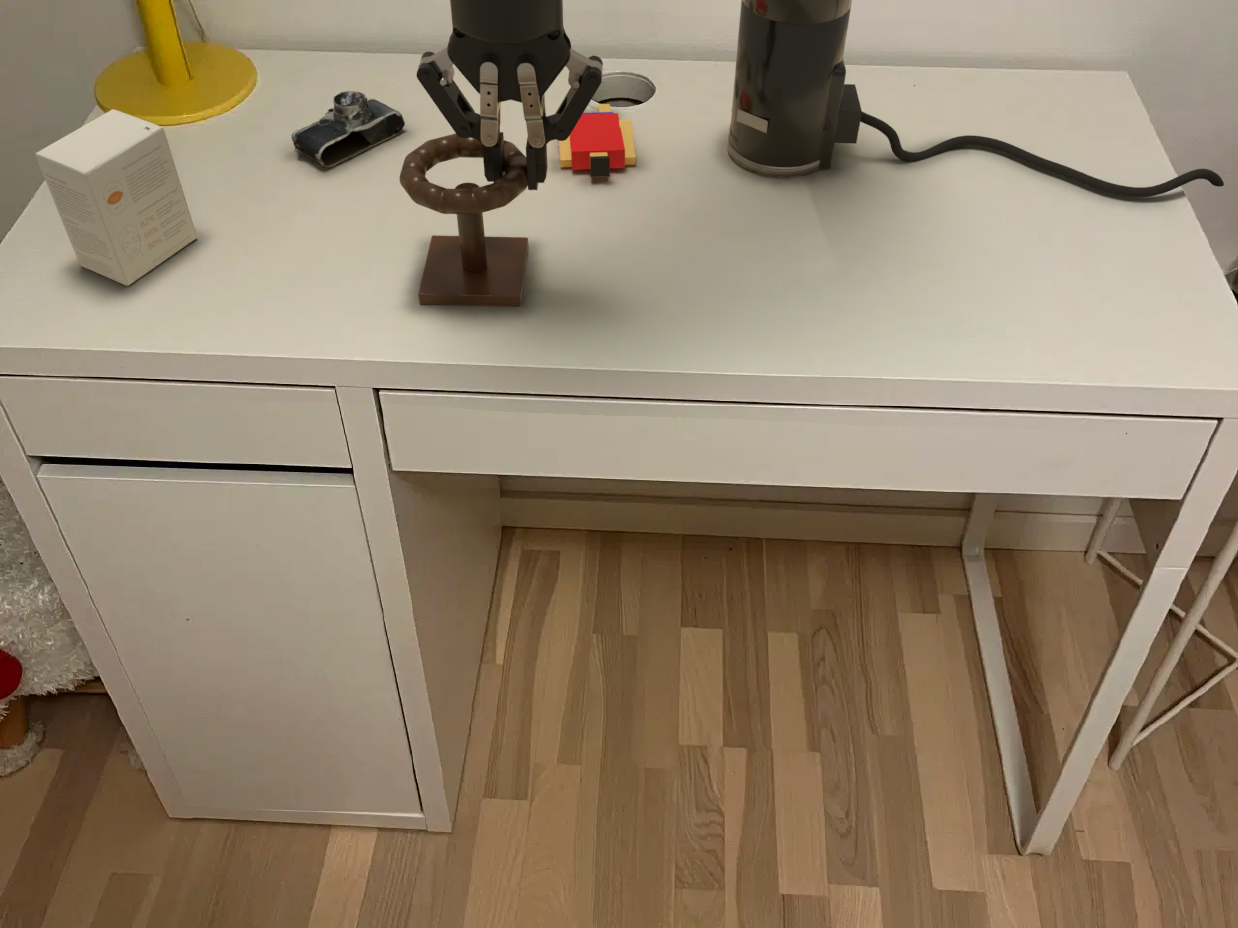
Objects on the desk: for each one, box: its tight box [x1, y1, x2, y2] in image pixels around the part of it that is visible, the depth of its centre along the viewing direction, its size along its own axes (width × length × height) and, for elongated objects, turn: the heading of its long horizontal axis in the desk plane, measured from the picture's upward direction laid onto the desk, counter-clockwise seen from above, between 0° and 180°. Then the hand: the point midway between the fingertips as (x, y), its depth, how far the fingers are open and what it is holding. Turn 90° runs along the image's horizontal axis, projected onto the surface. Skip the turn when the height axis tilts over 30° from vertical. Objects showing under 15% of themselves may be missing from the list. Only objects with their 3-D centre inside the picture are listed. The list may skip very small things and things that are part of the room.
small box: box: [34, 108, 198, 287], centre depth 91 cm, size 8×6×10 cm
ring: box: [399, 133, 528, 215], centre depth 86 cm, size 10×10×2 cm
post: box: [417, 182, 529, 307], centre depth 90 cm, size 8×8×8 cm
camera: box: [290, 90, 406, 168], centre depth 106 cm, size 5×10×4 cm, turn 137°
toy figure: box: [558, 103, 637, 178], centre depth 106 cm, size 2×7×12 cm
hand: (517, 183), depth 87 cm, fingers closed on ring, 2 cm apart
